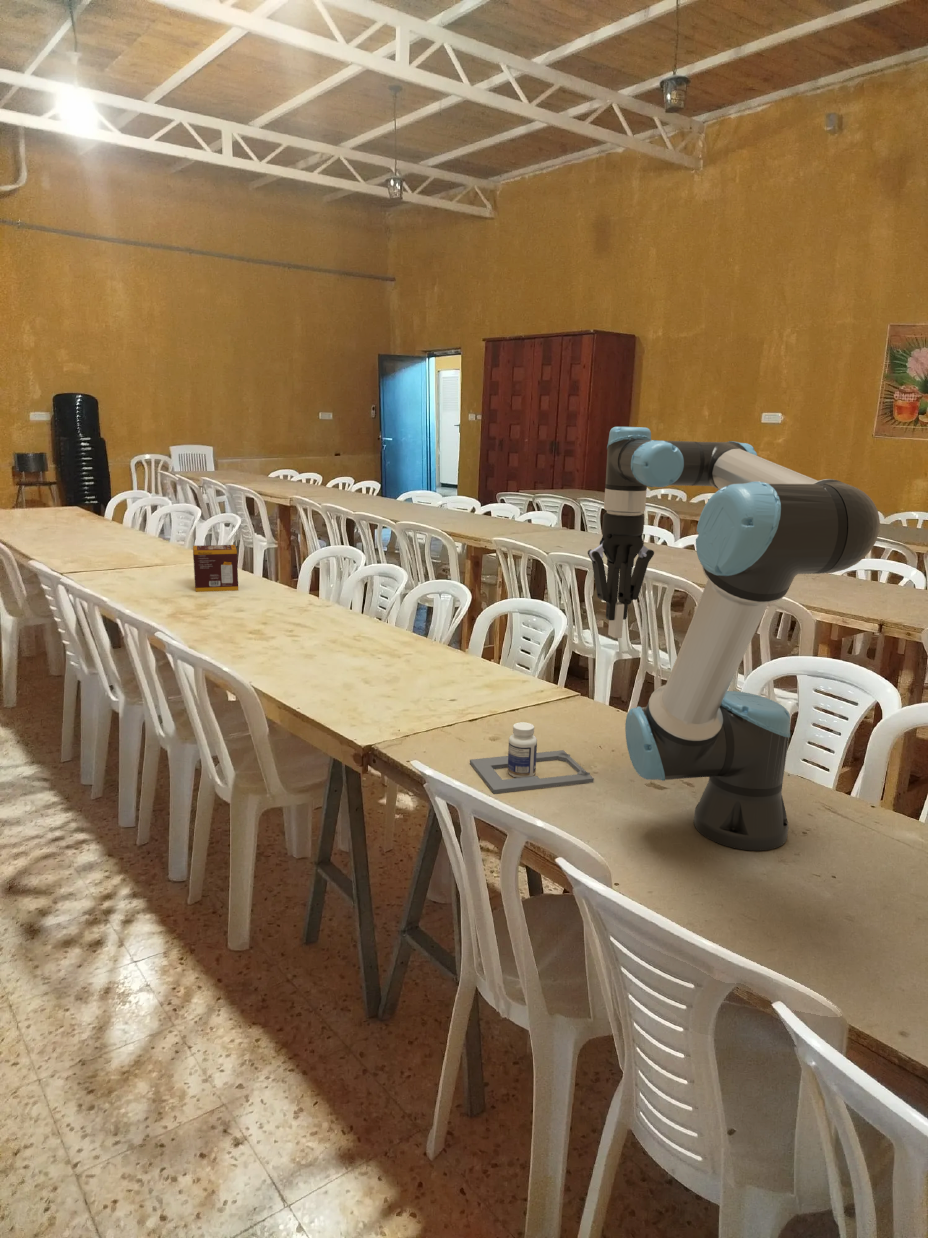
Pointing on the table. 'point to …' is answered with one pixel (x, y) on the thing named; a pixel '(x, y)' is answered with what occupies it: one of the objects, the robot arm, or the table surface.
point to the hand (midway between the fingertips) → (614, 636)
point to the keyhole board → (528, 783)
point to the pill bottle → (522, 751)
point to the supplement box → (215, 568)
